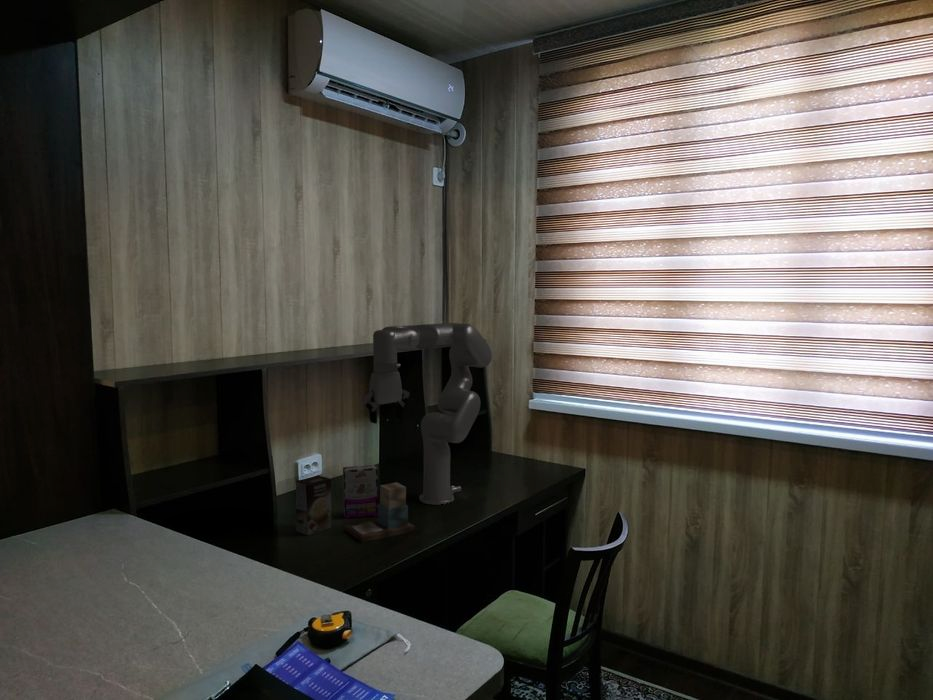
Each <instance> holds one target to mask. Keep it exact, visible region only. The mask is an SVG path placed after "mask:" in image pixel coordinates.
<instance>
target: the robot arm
mask: <svg viewBox="0 0 933 700" xmlns="http://www.w3.org/2000/svg"><path fill="white" fill-rule="evenodd" d="M372 341H373V342H372V343H373V344H372V345H373V346H372V347H373V372H372V373H371V375H370V378H369V390H368V393H367V394H365V395H364V396H363V397H362V398H361V401H362V403H363V405H364V407H365V408H366V409H367V410H368V411H369V412H368V413H369V414H368V415H369V421H370V423H373V424H378V412H377V410H376V409H377V408H378V407H379V406H381V405H386V404H387V405H388V404H394V403H395V404H396V406H395V409H396V410H395V417H396V418H397V419H400V420H403V418H404V407H405V405H406V403H407V402H408V400H409V397H410V394H411V393H410V391H408V390H406V389H403V388H402V387H403V386H402V380H401V375H400V371H398V369H399V368H401V363H399V362H398V351H399V352H400V351H401V352H402V351H403V352H410V351H413V350H414V349H424V350H426V349H427V350H429V349H430V350H432V349H439V348H450V349H449V353H448V357H449V362H450V368H451V374H450V377H449V379H448V381H447V383H446V385H445V387H443V388H444V389H443V390H442V392H441V394H440V395H439V398H438V400H437V407H438V410H439V411H440V412H437V411H432V412H428V413H426V414H425V415H424V416H423V417H422V419H421V422H420V430H421V437H422V441H423V492H422V493H421V494H420V495H418V500H419V502H421V503H422V504H426V505H430V504H431V506H442V505H441V504H443V505H448V504H450V502H451V503H453V502H454V500H455V495H454V493H459V492H461V491H462V487H461V485H457V486H454V485H451V448H450V445H449V443H453V444H459V443H462V442H463V441H464V440H465V439H466V438H467V436H468V435H469V433H470V430H471V429H472V428H473V427H472V426H473V424H474V423H475V421H476V419H477V417H478V415H479V413H480V409H481V398H480V396H479V394H478V393H477V392H476V391H472V390H471V388H472V387H473V376H472V373H471V371H470V367H472V368H473V367H474V368H485V367H488V366H489V365H490V364H491V362H492V358H493V353H492V349H491V348H490V346H489V343H487V341H486V340H485V339H484V337H483V336H482V334H481V333H480V332H479V330H478V329H477V328H476V327H475V326H474V325H472V324H470V323H460V322H446V323H444V322H443V323H430V324H429V323H426V324H414V325H391V326H390V325H389V326H385V327H383V328H382V329H378V330H375V331H373V335H372ZM369 402H370V403H369ZM447 503H448V504H447Z"/></svg>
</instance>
